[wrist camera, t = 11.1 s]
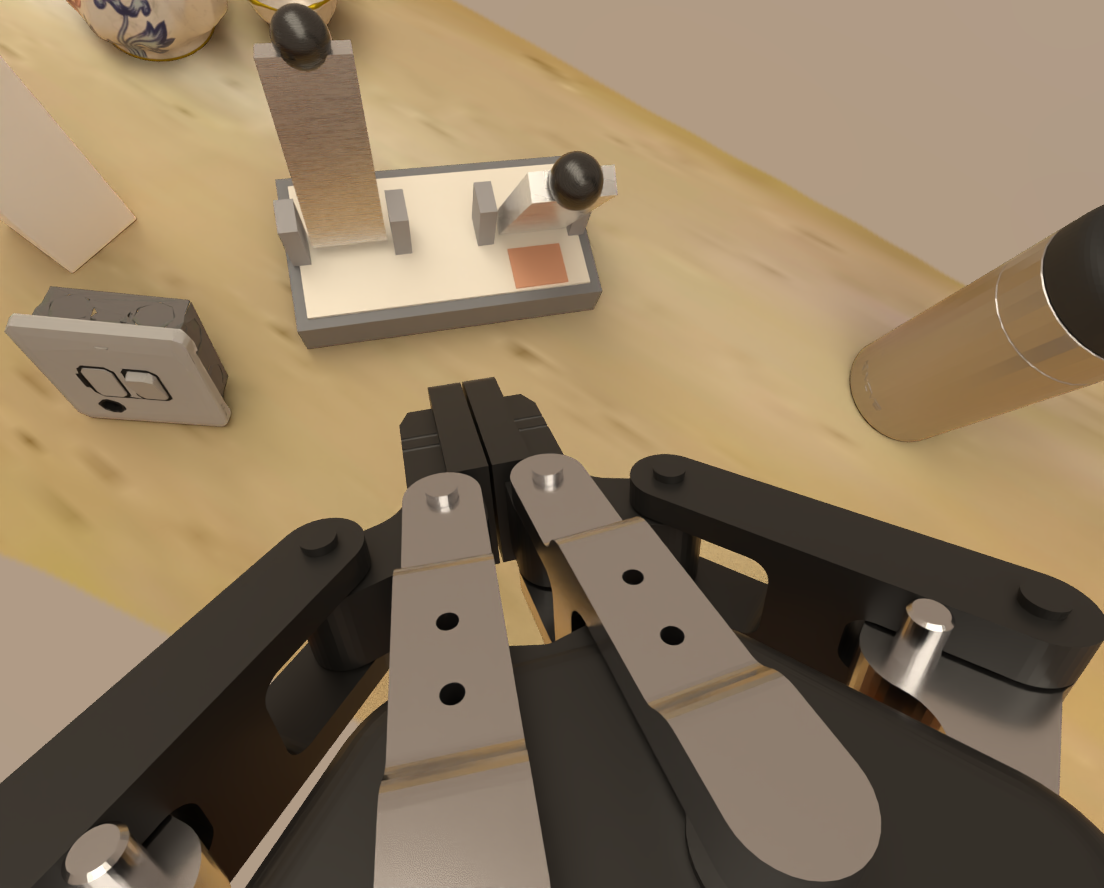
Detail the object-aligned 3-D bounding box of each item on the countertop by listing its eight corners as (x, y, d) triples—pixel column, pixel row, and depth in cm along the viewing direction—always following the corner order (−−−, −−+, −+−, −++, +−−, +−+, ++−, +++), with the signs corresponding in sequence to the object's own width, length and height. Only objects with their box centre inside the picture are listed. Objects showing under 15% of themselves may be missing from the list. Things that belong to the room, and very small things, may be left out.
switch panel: (560, 180, 51) (577, 115, 44) (593, 309, 48) (616, 261, 41) (286, 205, 46) (257, 137, 39) (307, 348, 44) (280, 302, 37)
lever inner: (559, 196, 45) (626, 140, 32) (564, 237, 46) (631, 200, 32) (493, 202, 44) (533, 147, 30) (499, 245, 44) (541, 209, 31)
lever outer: (383, 219, 43) (341, -9, 32) (388, 246, 42) (346, 17, 30) (311, 226, 42) (240, -7, 31) (313, 254, 41) (240, 20, 29)
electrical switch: (84, 418, 40) (-15, 353, 32) (105, 350, 42) (17, 270, 33) (233, 429, 42) (177, 369, 33) (247, 362, 43) (198, 289, 35)
